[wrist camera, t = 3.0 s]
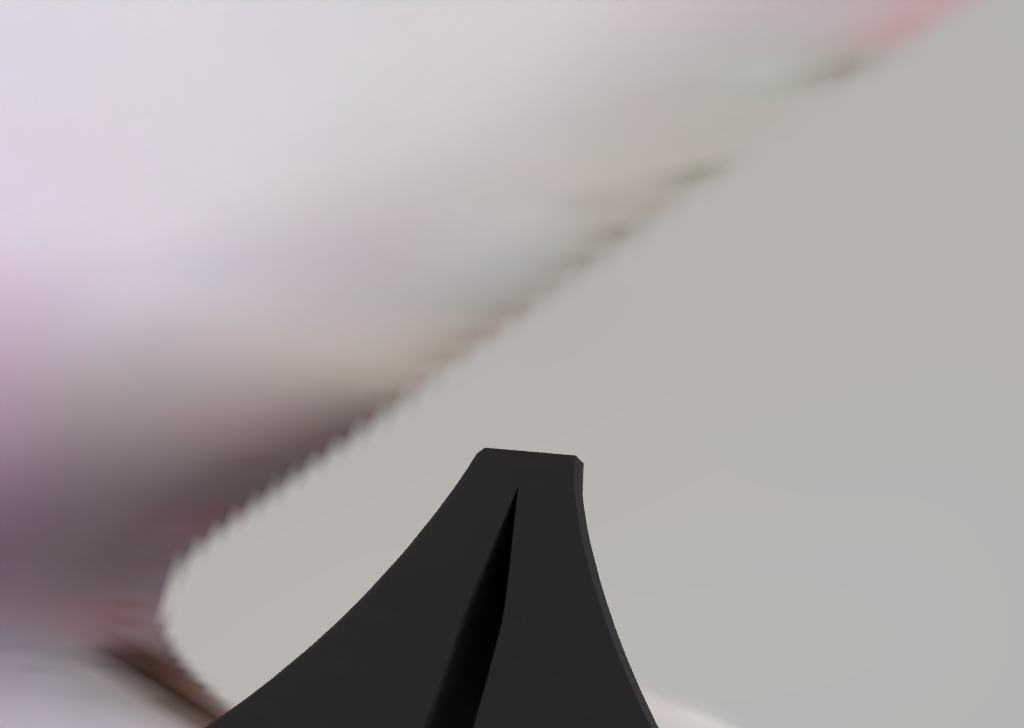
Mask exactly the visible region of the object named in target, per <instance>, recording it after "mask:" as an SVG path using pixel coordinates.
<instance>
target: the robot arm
mask: <svg viewBox="0 0 1024 728" xmlns="http://www.w3.org/2000/svg"><path fill="white" fill-rule="evenodd" d="M583 465H584V464H583V462H581V461H580V460H579V459H578V458H577V457H576V456H574V455H561V454H551V453H539V452H527V451H516V450H504V449H493V448H484V449H483V450H481V451H480V452H479V453H477V454H476V456H475V458H474V459H473V461H472V462H471V464H470V466H469V467H468V469H467V470H466V472H465V473H464V475H463V476H462V478H461V479H460V480H459V482H458V484H457V485H456V486H455V488H454V489H453V491H452V492H451V493H450V495H449V496H448V497H447V499H446V500H445V501H444V503H443V504H442V505H441V507H440V508H439V509H438V511H437V512H436V513H435V515H434V516H433V517H432V518H431V520H430V521H429V522H428V523H427V524H426V526H425V527H424V528H423V529H422V531H421V532H420V533H419V534H418V536H417V537H416V538H415V539H414V540H413V542H412V543H411V544H410V545H409V547H408V548H407V549H406V550H405V551H404V553H403V554H402V555H401V556H400V557H399V558H398V559H397V561H396V562H395V563H394V564H393V565H392V566H391V567H390V568H389V569H388V570H387V572H386V573H385V574H384V575H383V576H382V577H381V578H380V579H379V580H378V581H377V582H376V583H375V584H374V586H373V587H372V588H371V589H370V590H369V591H368V592H367V593H366V594H365V595H364V596H363V597H362V598H361V599H360V600H359V601H358V603H356V605H354V606H353V607H352V608H351V609H350V610H349V611H348V612H347V613H346V614H345V615H344V616H343V617H342V618H341V619H340V620H339V621H338V622H337V623H336V624H335V625H334V626H333V627H332V628H331V629H329V630H328V631H327V632H326V633H325V634H324V635H323V636H322V637H321V638H320V639H318V640H317V641H316V642H315V643H314V644H313V645H312V646H311V647H309V648H308V649H307V650H306V651H305V652H304V653H302V654H301V655H300V656H299V657H298V658H296V659H295V660H294V661H293V662H292V663H290V664H289V665H288V666H287V667H286V668H284V669H283V670H282V671H281V672H279V673H278V674H277V675H276V676H275V677H274V678H273V679H271V680H270V681H268V682H267V683H266V684H265V685H263V686H262V687H261V688H259V689H258V690H257V691H256V692H254V693H253V694H252V695H250V696H249V697H248V698H246V699H245V700H244V701H242V702H241V703H239V704H238V705H237V706H235V707H234V708H232V709H231V710H229V711H228V712H227V713H225V714H224V715H222V716H221V717H219V718H218V719H216V720H215V721H214V722H212V723H211V724H209V725H208V726H206V727H205V728H658V726H657V724H656V722H655V720H654V718H653V716H652V714H651V712H650V709H649V707H648V705H647V703H646V701H645V699H644V697H643V695H642V692H641V690H640V688H639V686H638V683H637V681H636V679H635V676H634V674H633V672H632V669H631V667H630V665H629V662H628V660H627V658H626V655H625V652H624V650H623V647H622V645H621V642H620V639H619V637H618V634H617V631H616V629H615V626H614V623H613V620H612V617H611V614H610V611H609V608H608V605H607V602H606V599H605V596H604V592H603V589H602V586H601V582H600V579H599V575H598V571H597V567H596V563H595V560H594V556H593V552H592V548H591V544H590V539H589V535H588V530H587V524H586V518H585V511H584V504H583V495H582V491H583Z"/></svg>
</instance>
